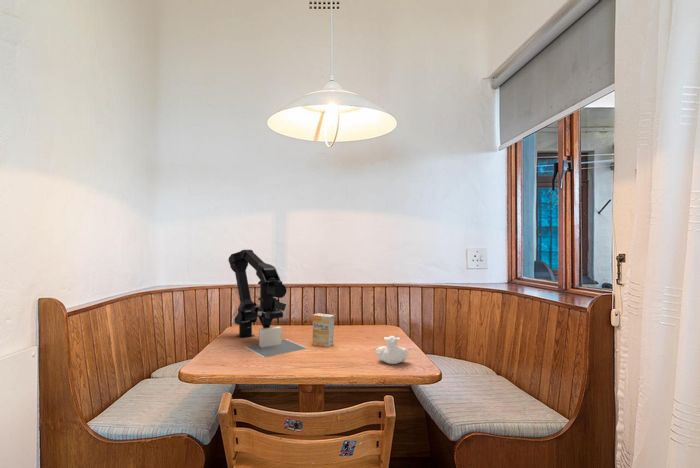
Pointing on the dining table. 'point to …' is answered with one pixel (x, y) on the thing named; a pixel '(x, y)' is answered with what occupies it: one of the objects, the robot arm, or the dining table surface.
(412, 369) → the dining table surface
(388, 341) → the white animal figurine
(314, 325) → the supplement box
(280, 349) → the mat
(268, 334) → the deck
